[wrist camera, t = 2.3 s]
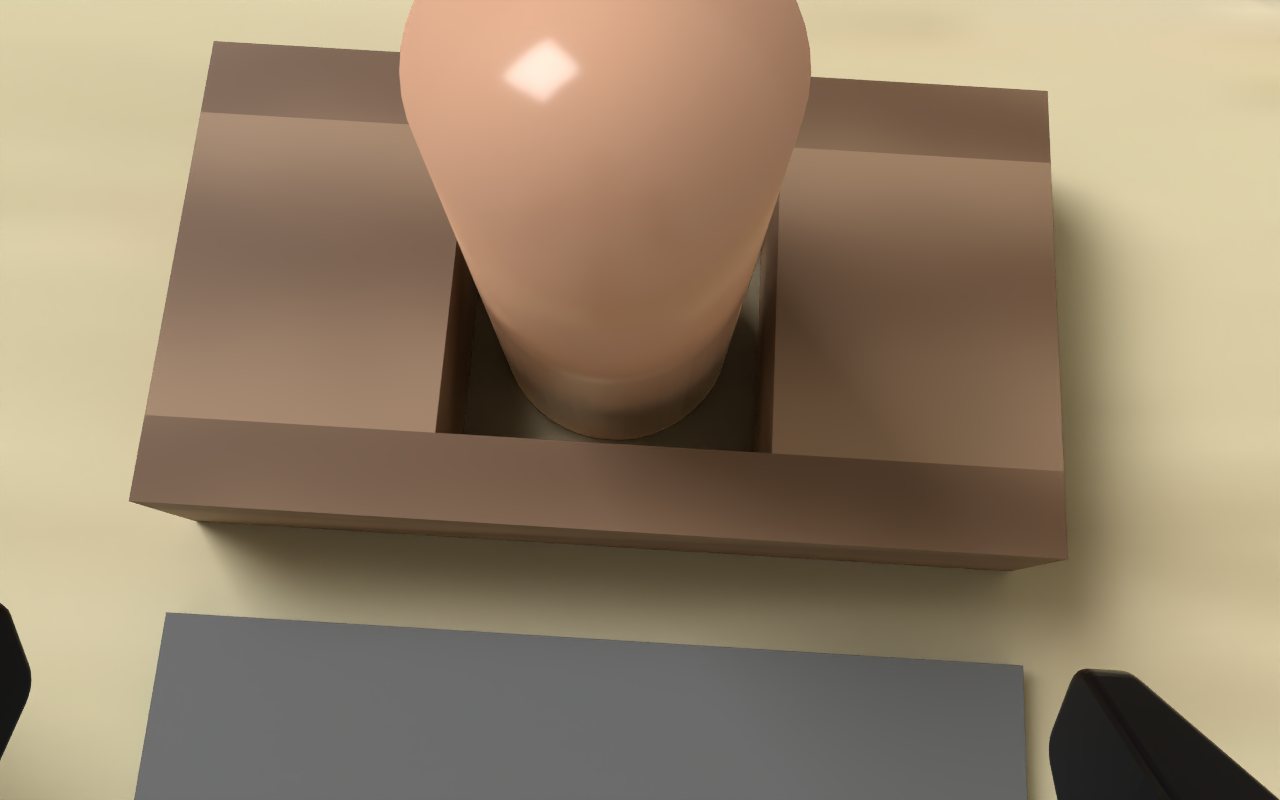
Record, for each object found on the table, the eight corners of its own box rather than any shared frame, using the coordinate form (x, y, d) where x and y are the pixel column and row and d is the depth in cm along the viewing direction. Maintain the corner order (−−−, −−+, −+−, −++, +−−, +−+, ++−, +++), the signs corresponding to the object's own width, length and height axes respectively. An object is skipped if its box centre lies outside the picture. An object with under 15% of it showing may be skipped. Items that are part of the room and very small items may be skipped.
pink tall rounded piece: (648, 483, 22) (666, 332, 12) (459, 360, 23) (315, 111, 12) (769, 300, 24) (886, 11, 13) (586, 188, 24) (553, -178, 14)
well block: (1009, 570, 22) (1067, 558, 19) (194, 520, 22) (128, 500, 19) (997, 157, 25) (1047, 90, 22) (263, 113, 25) (214, 40, 22)
